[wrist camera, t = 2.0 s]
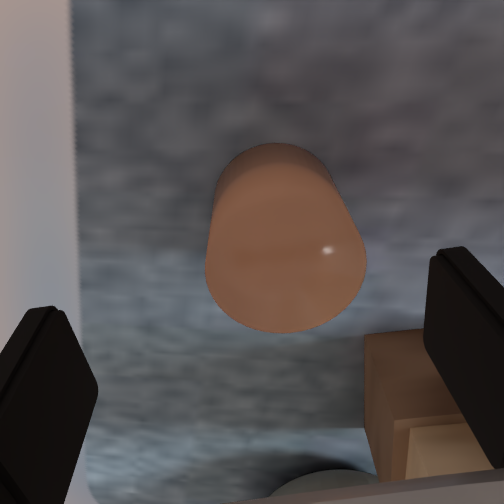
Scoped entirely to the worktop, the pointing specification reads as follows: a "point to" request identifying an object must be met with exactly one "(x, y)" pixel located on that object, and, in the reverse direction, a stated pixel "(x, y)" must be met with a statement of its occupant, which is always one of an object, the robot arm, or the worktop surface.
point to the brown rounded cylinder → (281, 242)
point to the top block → (444, 451)
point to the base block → (401, 397)
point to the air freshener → (325, 481)
